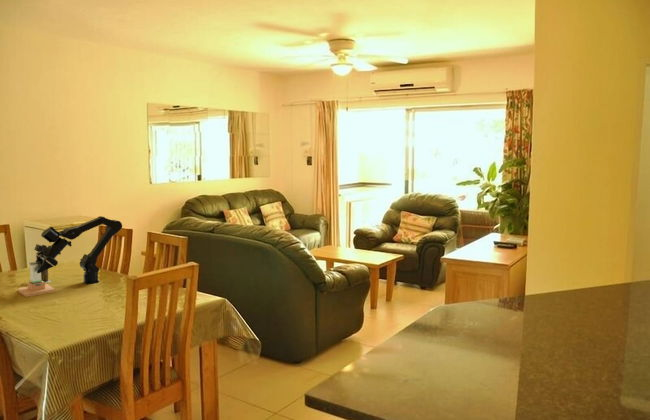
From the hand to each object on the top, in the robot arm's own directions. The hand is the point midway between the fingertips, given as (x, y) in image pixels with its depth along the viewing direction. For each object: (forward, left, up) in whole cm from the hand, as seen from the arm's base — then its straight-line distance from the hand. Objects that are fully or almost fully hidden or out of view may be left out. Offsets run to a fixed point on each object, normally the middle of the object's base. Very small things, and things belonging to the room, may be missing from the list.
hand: (34, 271), depth 262 cm
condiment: (-8, -20, -11) cm, 24 cm away
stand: (0, 0, -11) cm, 11 cm away
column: (0, 0, -6) cm, 6 cm away
